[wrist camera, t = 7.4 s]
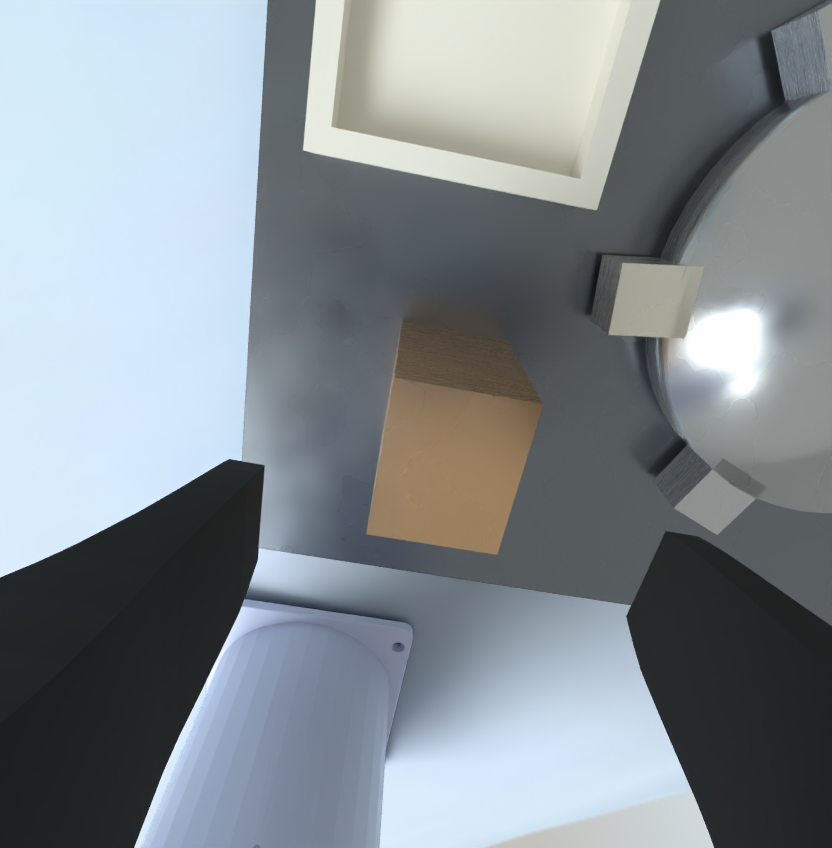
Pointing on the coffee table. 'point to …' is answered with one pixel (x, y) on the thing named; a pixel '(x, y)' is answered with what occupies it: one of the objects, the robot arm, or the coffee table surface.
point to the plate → (499, 323)
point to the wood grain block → (452, 440)
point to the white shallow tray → (478, 89)
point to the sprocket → (746, 306)
